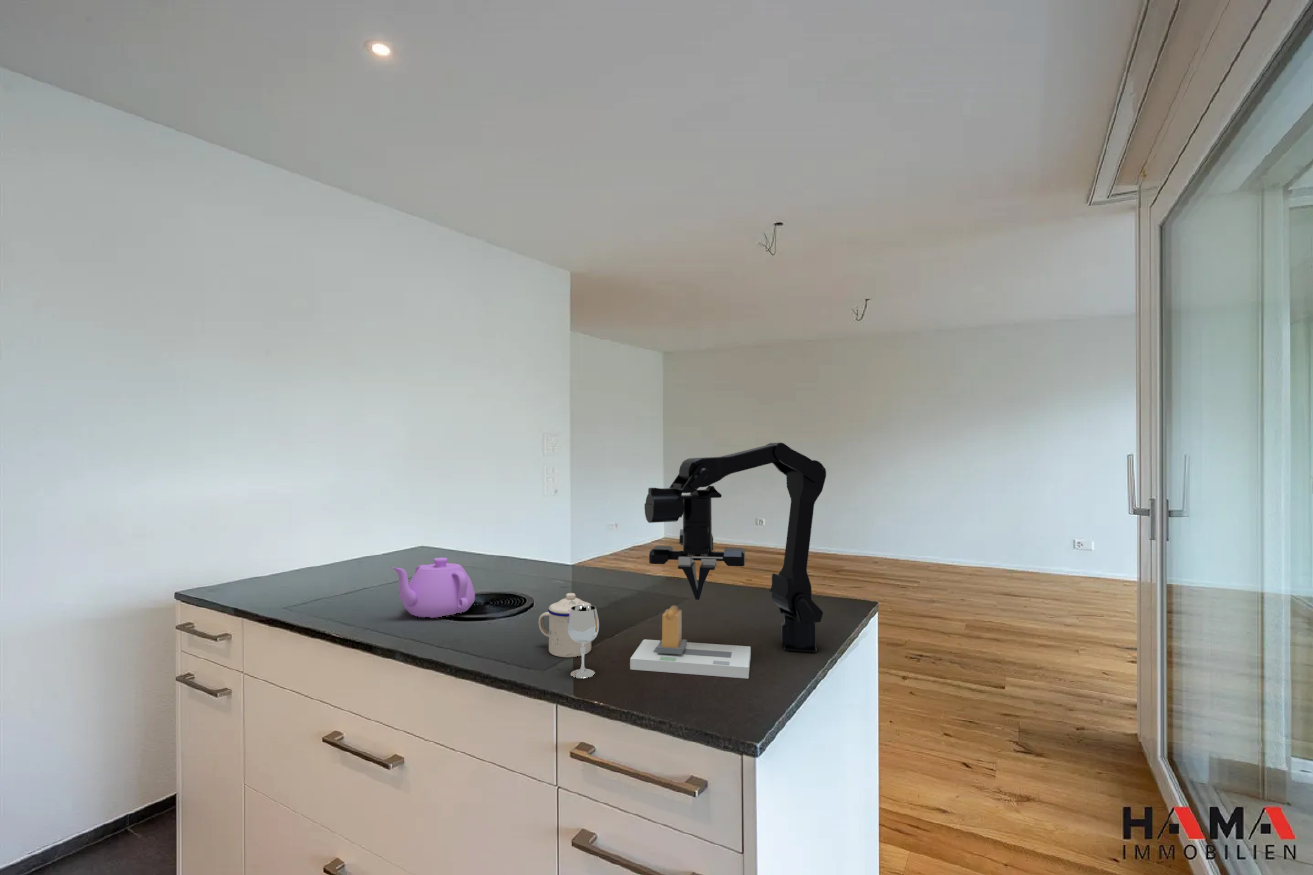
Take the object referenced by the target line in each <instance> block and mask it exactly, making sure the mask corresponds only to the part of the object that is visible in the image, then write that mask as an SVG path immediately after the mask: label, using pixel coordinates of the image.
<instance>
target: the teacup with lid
mask: <svg viewBox="0 0 1313 875" xmlns="http://www.w3.org/2000/svg"><path fill="white" fill-rule="evenodd" d="M577 605H592V603H590V602H587V601H583V600H582V599H580V598H578V597H577V596H576V594H575V593H574V592H568V593H566V594H565V598H561V599H560V600H559V601H557V602H554V603H552V604H550V605H549V606H548V609H547V611H546V612H543V613H541V614H540V616H539V617H538V628H539V629H540V632H541V633H542V634H543V635H544V636H545V637H548V652H549V653H550V654H551V655H552V656H554V657H555V656H556V657H559V658H577V656H578V657H582V656H581V651H580V647H581V645H582V644H581V643H577V642H575V641H573V640H572V639H571V638H570V637H569V634H568V618H569V614H570V610H571V607H573V606H577ZM545 617H549V618H548V619H549V620H548V621H549V622H548V625H549V626H548V630H547V629H546V627H545V624H544V622H545V621H544V619H545ZM585 646H586V651H585V655H586V654H588V653H590V652H591V650H592V641H590V642H588V643H585Z"/></svg>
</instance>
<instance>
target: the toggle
mask: <svg viewBox="0 0 1313 875" xmlns="http://www.w3.org/2000/svg"><path fill="white" fill-rule="evenodd" d="M682 614H683V613H682V609H679V608H678V606H677V605H675V604H674V605H670V608H666V610H665V611H664V612H663V613H662V617H661V618H662V620H661V626H662V628H661V630H662V631H661V633H662V635H661V639H660V640H661V641H660V643H659V644H658V646H657V653H668V654H683V652H684V650H685V647H686V645H687V642H688V639H685V638H684V639H682V628H683V627H682V625H683V624H682V620H683V619H682V616H683V615H682Z"/></svg>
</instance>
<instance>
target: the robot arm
mask: <svg viewBox="0 0 1313 875" xmlns="http://www.w3.org/2000/svg"><path fill="white" fill-rule="evenodd" d="M769 464H773V466H774V467H775V468H776V469H777V470H778V471H779V472H780V473H782V474H783V475H785V476H786V489H787V491H788V492H787V493H788V495H789V497H790V508H789V516H788V522H787V523H788V525H787V531H786V532H787V533H786V541H785V551H784V557H783V558H784V560H783V565H782V568H781V569H780V571H779V573H778V574H777V573H774V572H773V573H772V575H771V586H770V589H769V593H771V598H772V601H773V602H774V604H775V605H776V606H777V607H778V612H779V613H780V614H781V615H784V621H783V622H781V645H782V646H784V647H783V648H784V649H783V650H784V651H789V652H790V651H791V652H802V653H817V652H818V650H817V645H816V641H817V640H816V635H817V634H816V631H817V630H816V627H817V624H816V623H821V622H822V617H823V614H824V612H823V610H821V609H820V607H819V606H818V605H817V604H816V602H814V600H813V597H812V595H813V592H812V591H813V590H812V584H811V580H810V577H809V575H808V574H809V573H808V561H809V554H810V552H809V551H810V545H811V544H810V543H811V535H812V527H813V526H812V525H813V517H814V509H815V504H816V501H817V500H818V498H819V496H820V495H821V493H822V492H823V488H824V485H825V482H826V477H827V470H826V467H825V466H824V465H823V464H822V463H821V462H820V461H818V460H817V459H811V458H809V457H808V456H806V455H804V454H803V453H800V452H798V451H796V450H795V449H792V448H791V447H790V446H789V445H787V444H786V443H783V442H769V443H767V444H766V445H761V446H758V447H754V448H749V449H747V450H746V449H745V450H742V451H737V452H735V453H729V454H725V455H721V456H710V457H706V456H705V457H690V458H687V459H685V460H683V461H681V464H680V466H679V469H678V475H677V476H676V477H675V479H674V480H673V481H672V483H671V485H670V486H669V487H668V488H664V487H661V488H659V487H648V490H647V493H648V494H647V495H646V498H645V503H644V515H645V519H646V521H647V523H649V524H653V523H675V522H676V523H677V522H678V521H679V519H680V518H682V529H680V531H679V544H680V546H682V549H683V550H674V549H673V546H671V545H669V546H667V545H656V546H654V547H653V548H652V549H651V550H650V551H649V553H648V554H649V556H648V558H649V559H648V560H649V562H648V563H649V565H666V563H667V562H668V561H671V560H672V561H673V560H674V561H678V565H677V570H682V572H683V573H684V575H685V576H686V579H687V580H688V582H689V586H690V588H691V591H692V594H693V597H694V599H695V600H696V601H699V600H701V598H702V594H703V590H704V586H705V583H706V579H707V578H708V575H709V573H710V571H715V569H716V568H717V564H718V563H717V562H723V563H724V564H725V565H726V566H728V567H744V566H745V565H746V564H745V563H746V551H745V549H744V548H743V547H724V551H714V535H713V532H712V530H713V529H712V527H713V526H712V520H713V519H712V518H713V517H712V499H717V498H718V499H719V498H722V494H721V493H720V492H719V491H718V490H717V489H716V488H715V486H714V485H713V484H715V483H718V482H719V481H721V480H723V479H724V478H725V477H727V476H729V475H731V474H732V475H733V474H735V473H739V472H743V471H747V470H750V469H754V468H759V467H762V466H766V465H769ZM699 488H704V489H699ZM682 494H683V495H682ZM696 561H701V565H700V566H699V570H698V577H697V570H696V569H697V566H696Z"/></svg>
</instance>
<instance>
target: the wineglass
mask: <svg viewBox="0 0 1313 875" xmlns="http://www.w3.org/2000/svg"><path fill="white" fill-rule="evenodd" d="M599 629H600V621H599V615H598V611H597V607H596V606H595V605H592V604H591V605H577V606H573V607H571V610H570V614H569V618H568V634H569V637H570V638H571V639H572V640H573V641H575V642H577V643H581V644H582V645H581V647H580V651H581V656H580V657H581V665H580V668H579V669H574V670H573V671H571V672H570V677H572V676H573V678H575V677H576V678H575V679H588V677H589V678H591V677H594V676H595V675H596V672H595V671H594V669H593V670H592V669H589V668H586V667H585V666H586V665H585V655H586V654H585V651H586V646H585V643H588V642H590V641H591V642H593V641H594V640H595V639H596V638H597V636H598V634H599ZM594 674H595V675H594ZM593 675H594V676H593Z"/></svg>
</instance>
